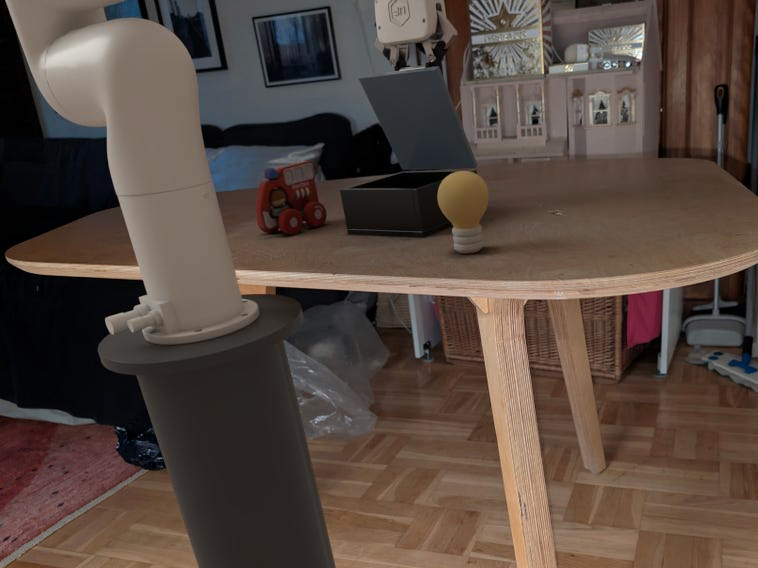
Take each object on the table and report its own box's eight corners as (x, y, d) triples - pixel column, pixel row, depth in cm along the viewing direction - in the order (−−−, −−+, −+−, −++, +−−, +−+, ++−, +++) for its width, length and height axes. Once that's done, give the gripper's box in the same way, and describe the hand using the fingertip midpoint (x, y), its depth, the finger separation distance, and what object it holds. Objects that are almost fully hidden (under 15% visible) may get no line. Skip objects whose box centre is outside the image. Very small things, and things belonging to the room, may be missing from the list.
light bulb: (489, 256, 86) (481, 173, 82) (439, 259, 87) (428, 177, 83) (497, 243, 92) (490, 165, 88) (450, 246, 93) (441, 169, 89)
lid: (436, 69, 98) (452, 50, 100) (358, 78, 105) (375, 60, 108) (475, 168, 109) (489, 149, 111) (402, 170, 116) (416, 152, 119)
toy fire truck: (250, 238, 113) (234, 172, 109) (308, 220, 122) (296, 159, 118) (277, 240, 109) (262, 172, 105) (336, 222, 118) (324, 158, 114)
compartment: (423, 237, 100) (416, 189, 97) (347, 234, 108) (339, 189, 105) (481, 213, 112) (476, 169, 109) (409, 212, 119) (403, 171, 117)
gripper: (342, -35, 101) (362, 98, 108) (437, -57, 92) (453, 90, 99) (375, -32, 107) (393, 94, 114) (468, -53, 98) (481, 86, 105)
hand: (420, 91), depth 107 cm, fingers closed on lid, 5 cm apart
